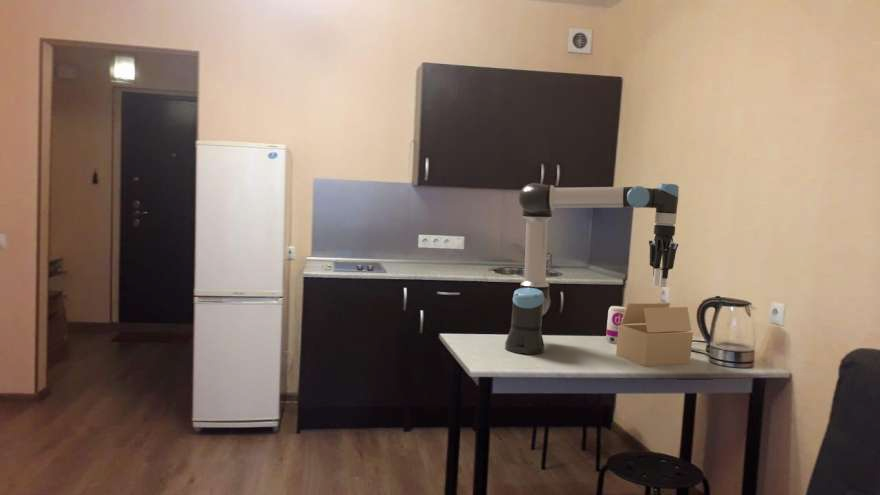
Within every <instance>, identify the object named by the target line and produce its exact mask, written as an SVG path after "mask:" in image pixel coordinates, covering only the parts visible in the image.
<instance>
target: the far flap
mask: <svg viewBox="0 0 880 495" xmlns="http://www.w3.org/2000/svg"><path fill="white" fill-rule="evenodd" d="M670 305H671V302H628V303H627V304H626V309H625V312H624V315H623V318H622V320H621V324H627V325H632V324H646V319H645V313H644V308H666V307H670Z"/></svg>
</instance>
